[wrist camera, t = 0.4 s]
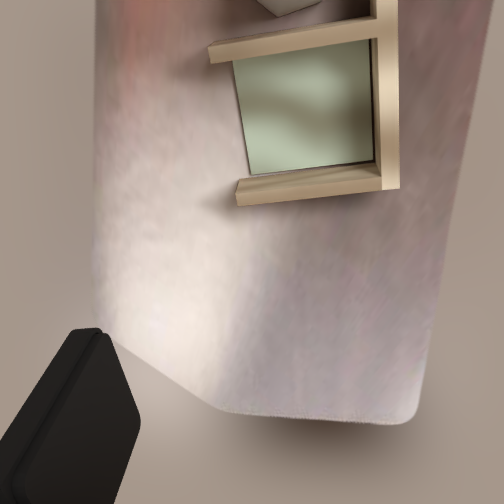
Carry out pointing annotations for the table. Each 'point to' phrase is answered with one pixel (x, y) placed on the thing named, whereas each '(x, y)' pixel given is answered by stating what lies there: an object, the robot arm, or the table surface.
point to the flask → (286, 5)
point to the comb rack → (318, 106)
